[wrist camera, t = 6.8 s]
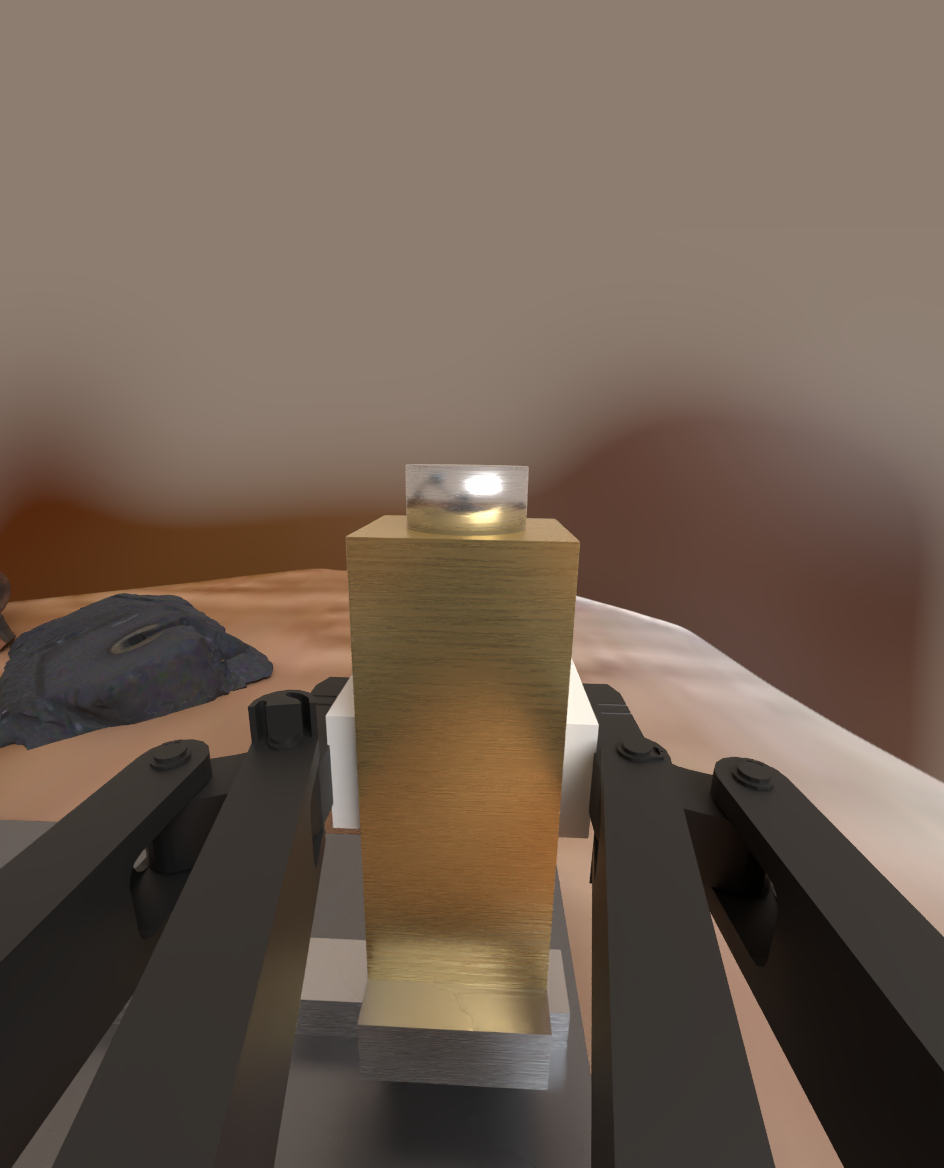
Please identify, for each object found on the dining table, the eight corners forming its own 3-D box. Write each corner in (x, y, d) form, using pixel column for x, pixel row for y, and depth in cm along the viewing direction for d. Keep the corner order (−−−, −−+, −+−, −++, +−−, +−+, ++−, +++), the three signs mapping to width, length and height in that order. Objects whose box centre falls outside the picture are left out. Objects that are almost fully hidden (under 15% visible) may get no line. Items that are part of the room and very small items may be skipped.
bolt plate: (-891, 1368, 8) (-2066, 430, 4) (-84, 836, 20) (-211, 450, 16) (646, 1495, 7) (871, 484, 4) (551, 863, 19) (579, 464, 15)
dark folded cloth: (206, 612, 50) (200, 567, 49) (286, 689, 34) (281, 625, 33) (3, 647, 40) (-10, 593, 39) (-18, 778, 24) (-42, 692, 23)
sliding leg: (362, 1111, 11) (324, 465, 7) (413, 848, 18) (407, 461, 14) (544, 1122, 10) (597, 470, 7) (522, 853, 18) (543, 464, 14)
